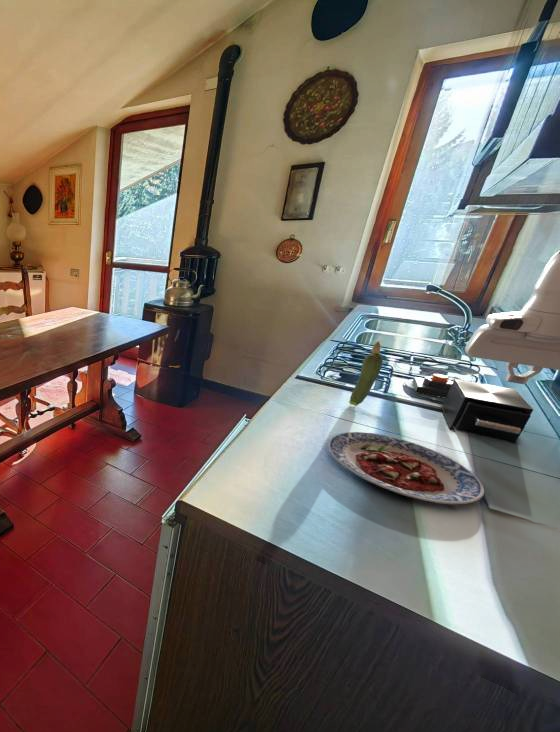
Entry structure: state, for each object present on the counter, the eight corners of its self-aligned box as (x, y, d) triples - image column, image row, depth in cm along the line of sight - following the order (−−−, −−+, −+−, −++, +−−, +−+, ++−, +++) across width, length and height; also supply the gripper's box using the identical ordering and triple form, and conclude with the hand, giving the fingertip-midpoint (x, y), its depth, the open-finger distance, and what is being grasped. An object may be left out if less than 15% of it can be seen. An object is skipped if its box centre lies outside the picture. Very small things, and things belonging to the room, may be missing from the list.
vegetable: (354, 401, 117) (378, 337, 108) (369, 408, 113) (395, 342, 105) (344, 403, 115) (367, 339, 107) (358, 410, 111) (383, 343, 103)
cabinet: (513, 444, 95) (533, 409, 92) (449, 429, 102) (465, 396, 98) (497, 421, 106) (515, 389, 102) (440, 409, 113) (454, 378, 109)
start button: (445, 380, 123) (447, 375, 122) (447, 384, 120) (449, 378, 119) (430, 377, 125) (432, 372, 124) (431, 381, 122) (434, 376, 121)
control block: (452, 390, 125) (457, 378, 123) (458, 401, 118) (464, 389, 116) (411, 382, 130) (416, 371, 129) (415, 392, 123) (420, 381, 121)
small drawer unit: (520, 452, 90) (537, 423, 87) (459, 438, 96) (473, 410, 93) (499, 422, 104) (513, 396, 101) (446, 411, 109) (458, 386, 106)
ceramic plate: (513, 527, 70) (521, 514, 69) (345, 493, 78) (349, 481, 77) (438, 451, 92) (444, 441, 91) (313, 431, 100) (317, 421, 99)
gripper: (616, 329, 81) (578, 389, 87) (478, 314, 92) (453, 368, 98) (631, 336, 76) (590, 399, 82) (485, 319, 87) (457, 376, 93)
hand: (514, 382), depth 90 cm, fingers closed
